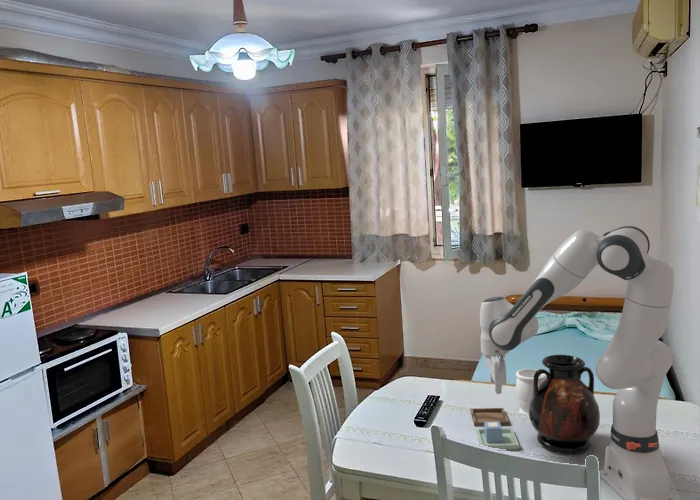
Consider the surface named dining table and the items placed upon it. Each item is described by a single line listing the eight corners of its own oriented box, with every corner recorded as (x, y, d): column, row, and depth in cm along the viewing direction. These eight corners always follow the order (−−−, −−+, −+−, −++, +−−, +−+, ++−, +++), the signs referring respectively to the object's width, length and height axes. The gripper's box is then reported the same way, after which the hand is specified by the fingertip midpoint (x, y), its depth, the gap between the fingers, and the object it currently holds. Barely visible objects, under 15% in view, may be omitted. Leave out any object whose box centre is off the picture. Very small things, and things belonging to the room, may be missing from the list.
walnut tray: (509, 427, 202) (509, 422, 202) (474, 427, 203) (474, 422, 203) (503, 412, 214) (503, 407, 214) (470, 413, 215) (470, 408, 215)
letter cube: (502, 442, 190) (502, 427, 189) (486, 443, 190) (486, 428, 190) (499, 435, 195) (499, 420, 194) (484, 436, 195) (484, 421, 195)
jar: (543, 406, 217) (542, 368, 215) (549, 418, 207) (549, 378, 205) (514, 407, 218) (513, 368, 216) (519, 418, 208) (518, 378, 206)
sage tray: (519, 450, 186) (519, 444, 185) (481, 450, 187) (480, 445, 187) (512, 433, 198) (511, 428, 197) (476, 433, 199) (476, 428, 198)
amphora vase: (584, 427, 199) (584, 348, 195) (611, 458, 177) (612, 370, 174) (521, 430, 199) (519, 351, 195) (541, 461, 178) (540, 373, 174)
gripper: (510, 356, 177) (511, 399, 179) (499, 337, 197) (500, 376, 199) (489, 357, 178) (491, 400, 180) (480, 337, 198) (481, 376, 200)
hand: (495, 387), depth 190 cm, fingers open, 8 cm apart
